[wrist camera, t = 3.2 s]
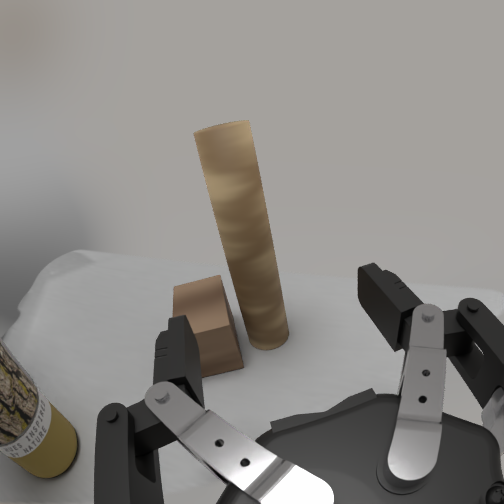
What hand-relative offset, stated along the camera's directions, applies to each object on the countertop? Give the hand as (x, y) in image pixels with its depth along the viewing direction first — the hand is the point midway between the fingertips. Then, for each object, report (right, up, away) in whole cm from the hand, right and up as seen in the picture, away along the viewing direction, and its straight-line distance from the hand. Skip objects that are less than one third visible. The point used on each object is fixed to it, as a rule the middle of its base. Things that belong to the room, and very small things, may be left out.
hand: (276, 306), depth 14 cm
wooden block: (-4, -6, +14) cm, 16 cm away
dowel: (0, -5, +14) cm, 15 cm away
